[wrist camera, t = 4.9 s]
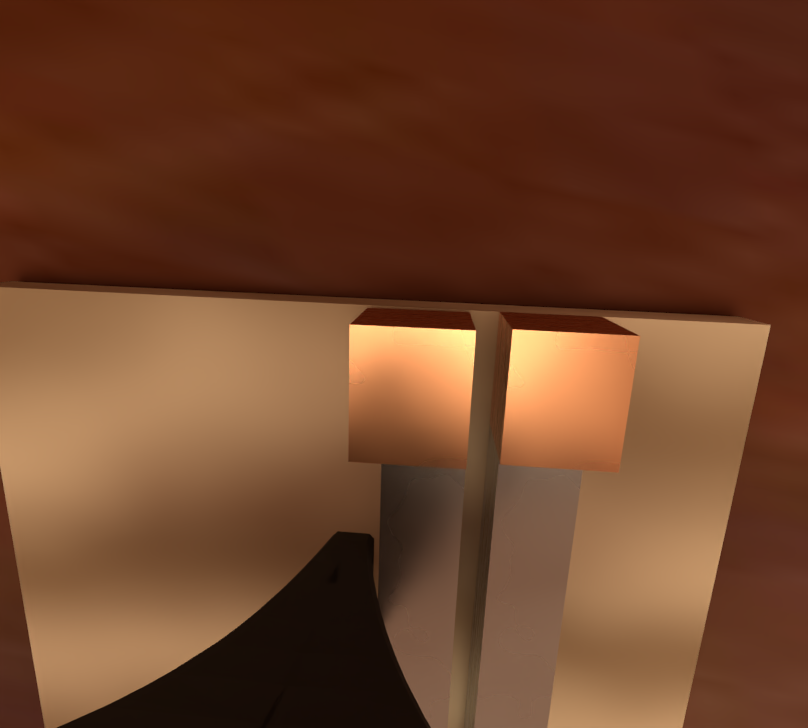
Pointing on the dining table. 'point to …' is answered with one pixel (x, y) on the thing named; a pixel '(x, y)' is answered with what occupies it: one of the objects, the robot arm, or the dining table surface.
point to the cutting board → (329, 486)
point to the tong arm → (415, 478)
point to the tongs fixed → (539, 499)
